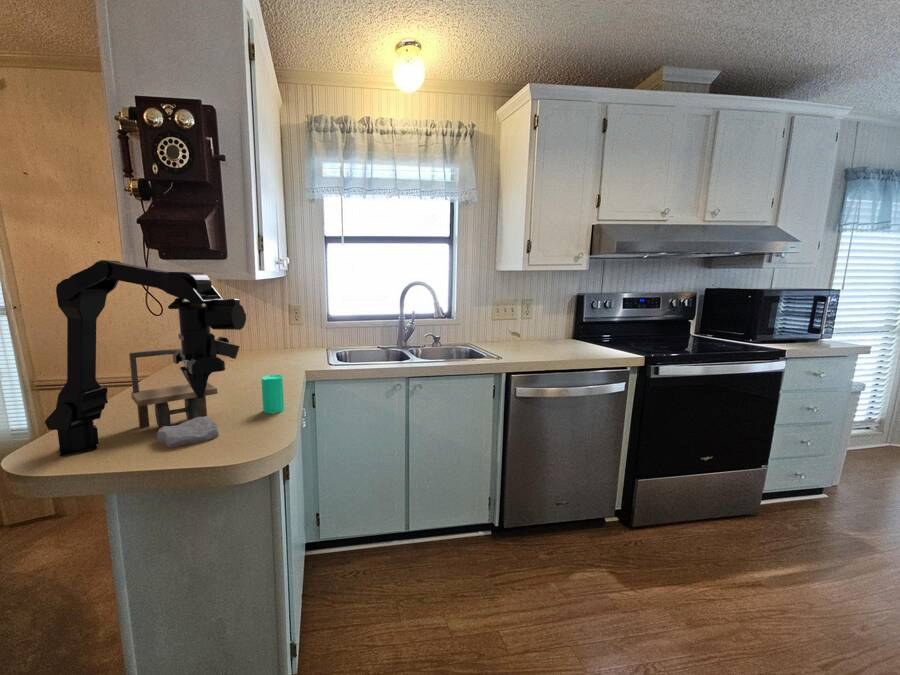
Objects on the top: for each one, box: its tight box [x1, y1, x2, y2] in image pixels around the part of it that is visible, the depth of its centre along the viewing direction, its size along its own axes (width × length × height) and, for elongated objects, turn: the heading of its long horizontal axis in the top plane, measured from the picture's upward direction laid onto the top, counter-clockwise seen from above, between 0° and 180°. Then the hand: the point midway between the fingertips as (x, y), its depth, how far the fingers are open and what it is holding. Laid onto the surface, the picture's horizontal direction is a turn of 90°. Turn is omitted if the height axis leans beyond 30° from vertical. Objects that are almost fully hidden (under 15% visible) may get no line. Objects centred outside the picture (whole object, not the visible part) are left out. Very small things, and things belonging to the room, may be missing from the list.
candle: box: [261, 374, 285, 414], centre depth 129 cm, size 6×6×12 cm
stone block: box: [156, 416, 220, 448], centre depth 107 cm, size 12×5×10 cm
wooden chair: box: [128, 347, 218, 430], centre depth 116 cm, size 18×11×20 cm, turn 133°
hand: (200, 398), depth 96 cm, fingers closed
